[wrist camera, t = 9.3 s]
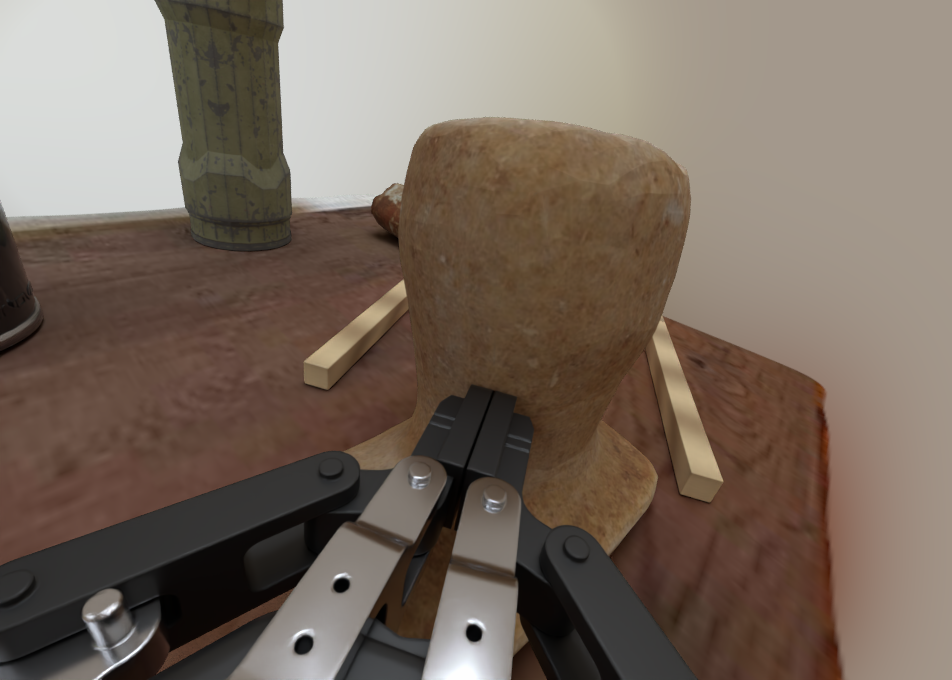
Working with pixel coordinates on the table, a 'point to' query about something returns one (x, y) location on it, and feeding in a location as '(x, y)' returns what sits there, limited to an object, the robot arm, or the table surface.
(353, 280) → the table surface
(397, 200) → the rusty brown cylinder
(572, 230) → the stone cup
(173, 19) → the thermos
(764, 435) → the table surface
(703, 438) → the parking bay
